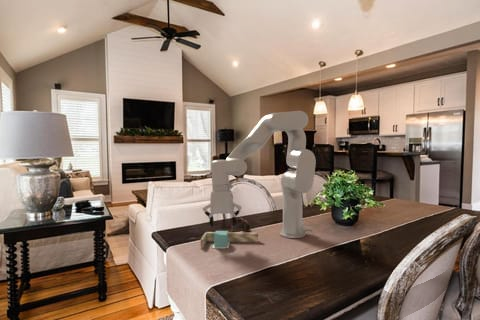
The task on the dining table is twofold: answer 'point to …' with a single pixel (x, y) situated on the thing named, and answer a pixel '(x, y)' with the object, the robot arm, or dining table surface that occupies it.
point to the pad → (222, 247)
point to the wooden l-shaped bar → (230, 237)
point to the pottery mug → (241, 225)
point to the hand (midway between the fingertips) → (223, 225)
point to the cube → (221, 239)
